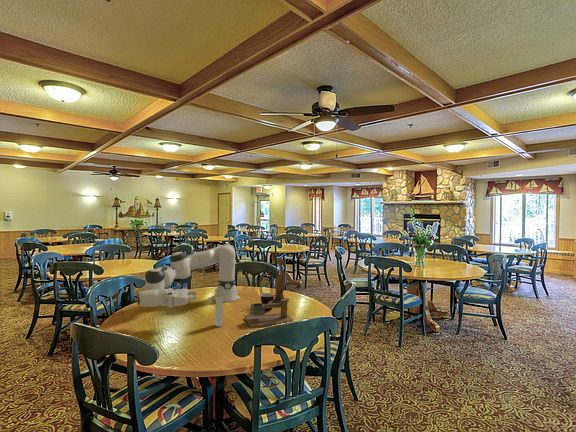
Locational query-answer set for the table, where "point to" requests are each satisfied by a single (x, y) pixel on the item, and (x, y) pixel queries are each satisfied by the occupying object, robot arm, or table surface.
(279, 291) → the bird sculpture
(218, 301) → the rail
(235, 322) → the table surface
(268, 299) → the coffee mug
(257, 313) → the cup bracket
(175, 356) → the table surface
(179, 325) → the table surface
